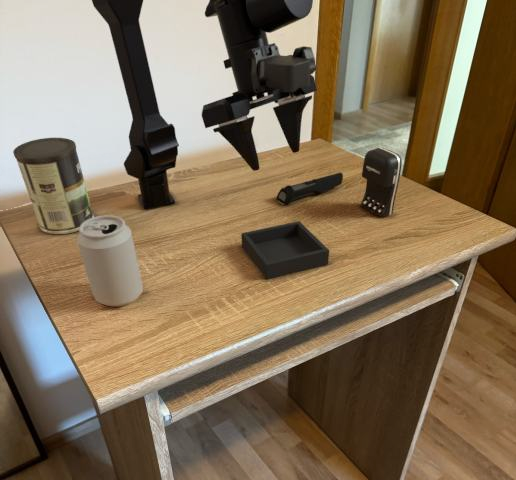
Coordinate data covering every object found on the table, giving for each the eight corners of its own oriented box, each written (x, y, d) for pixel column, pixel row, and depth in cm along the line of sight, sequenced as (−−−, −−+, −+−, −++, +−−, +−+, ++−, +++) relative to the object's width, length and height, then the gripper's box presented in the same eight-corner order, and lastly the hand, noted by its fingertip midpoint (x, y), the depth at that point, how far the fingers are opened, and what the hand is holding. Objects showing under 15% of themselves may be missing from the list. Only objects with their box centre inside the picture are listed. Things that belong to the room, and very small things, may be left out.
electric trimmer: (346, 189, 103) (347, 174, 101) (285, 206, 97) (286, 191, 95) (334, 183, 105) (336, 169, 103) (275, 200, 99) (275, 184, 97)
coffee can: (85, 205, 99) (66, 133, 89) (101, 225, 92) (82, 149, 83) (33, 218, 95) (7, 144, 85) (46, 240, 88) (19, 162, 79)
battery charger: (354, 206, 96) (362, 148, 89) (369, 202, 98) (377, 144, 90) (378, 220, 92) (388, 160, 84) (393, 215, 93) (404, 155, 86)
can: (132, 312, 71) (115, 239, 64) (85, 307, 73) (63, 234, 65) (151, 284, 77) (137, 213, 69) (107, 279, 78) (89, 209, 70)
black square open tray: (241, 247, 85) (241, 233, 83) (298, 234, 88) (299, 220, 86) (266, 279, 77) (266, 265, 76) (328, 264, 80) (329, 250, 79)
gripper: (238, 35, 55) (275, 173, 62) (334, 14, 65) (356, 135, 72) (182, 62, 63) (219, 182, 70) (274, 40, 73) (299, 146, 80)
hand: (276, 160), depth 73 cm, fingers open, 9 cm apart
